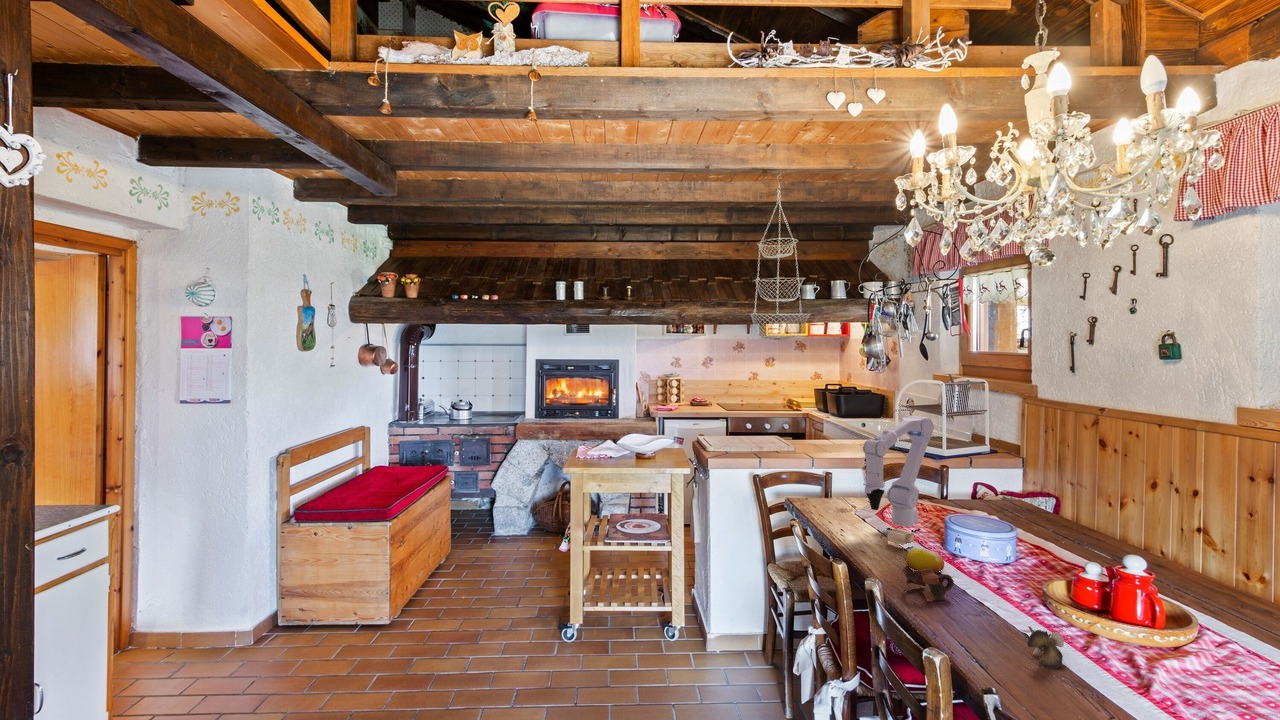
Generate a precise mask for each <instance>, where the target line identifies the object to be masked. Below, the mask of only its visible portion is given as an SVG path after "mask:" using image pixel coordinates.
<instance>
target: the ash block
mask: <svg viewBox="0 0 1280 720" xmlns="http://www.w3.org/2000/svg"><path fill="white" fill-rule="evenodd" d="M888 541H891V542H894V543H897V544H901V545H904V544H907V543H911V542H914V543H915V531H913V532H910V531H907V530H903V529H900V528H897V529H893V530H891V529H888V530H887V542H888Z"/></svg>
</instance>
